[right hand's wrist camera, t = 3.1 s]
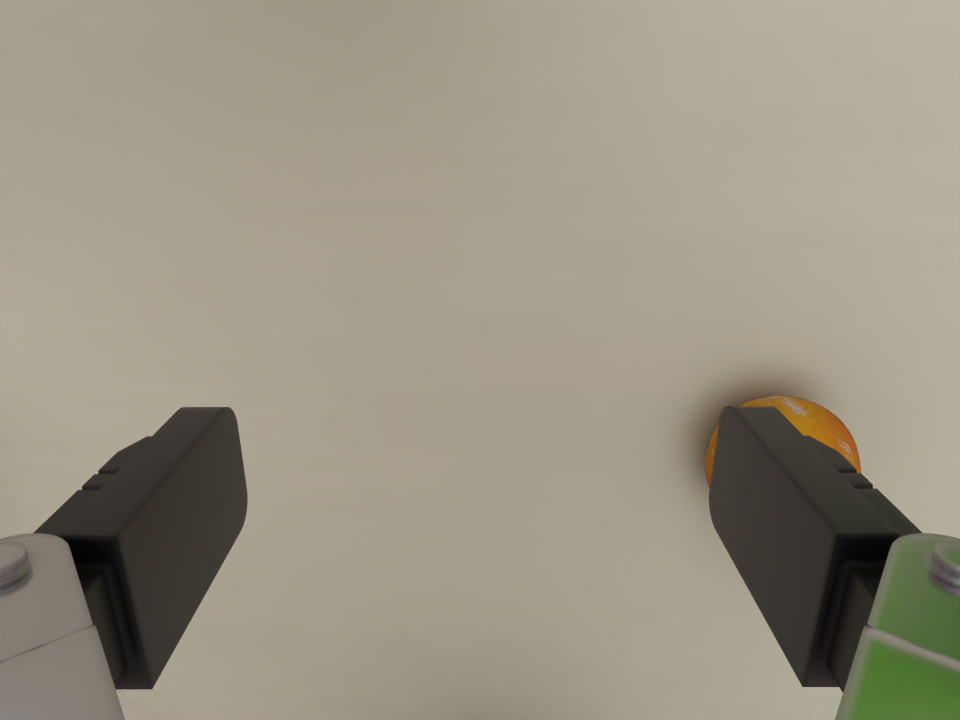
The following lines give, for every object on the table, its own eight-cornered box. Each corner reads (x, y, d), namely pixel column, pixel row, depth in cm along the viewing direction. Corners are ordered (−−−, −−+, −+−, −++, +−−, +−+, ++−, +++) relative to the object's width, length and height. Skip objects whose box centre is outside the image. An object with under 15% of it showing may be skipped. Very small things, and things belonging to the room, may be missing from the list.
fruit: (736, 370, 38) (809, 497, 34) (843, 371, 41) (922, 487, 37) (661, 448, 44) (714, 565, 40) (759, 443, 48) (818, 551, 43)
